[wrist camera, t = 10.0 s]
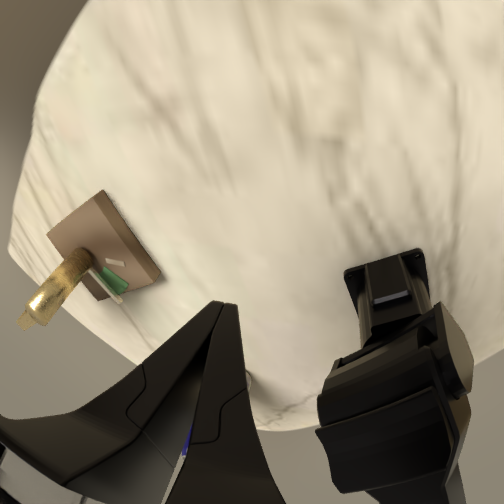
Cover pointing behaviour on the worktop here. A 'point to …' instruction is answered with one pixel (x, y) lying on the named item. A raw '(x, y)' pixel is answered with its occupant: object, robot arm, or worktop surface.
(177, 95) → the worktop surface
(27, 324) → the dial handle
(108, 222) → the dial board
